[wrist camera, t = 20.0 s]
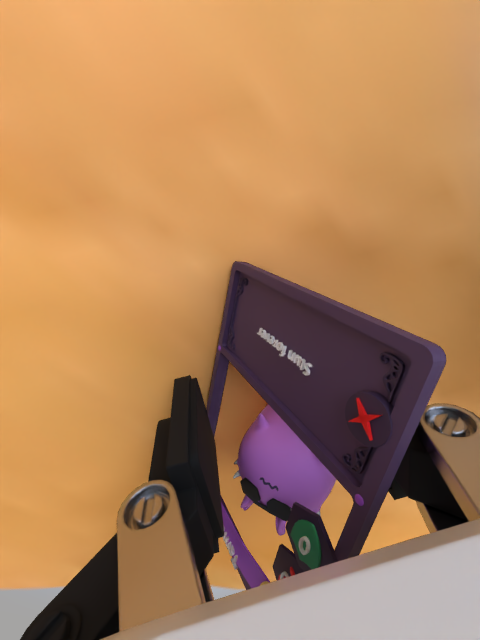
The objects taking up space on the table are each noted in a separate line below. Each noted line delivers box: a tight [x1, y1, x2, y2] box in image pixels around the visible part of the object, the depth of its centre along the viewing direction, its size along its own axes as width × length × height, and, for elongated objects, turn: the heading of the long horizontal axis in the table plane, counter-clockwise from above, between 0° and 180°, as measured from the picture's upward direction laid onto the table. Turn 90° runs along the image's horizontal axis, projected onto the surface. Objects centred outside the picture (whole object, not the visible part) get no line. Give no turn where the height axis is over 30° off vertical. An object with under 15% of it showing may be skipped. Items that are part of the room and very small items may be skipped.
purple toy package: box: [206, 261, 446, 590], centre depth 9 cm, size 7×5×9 cm
